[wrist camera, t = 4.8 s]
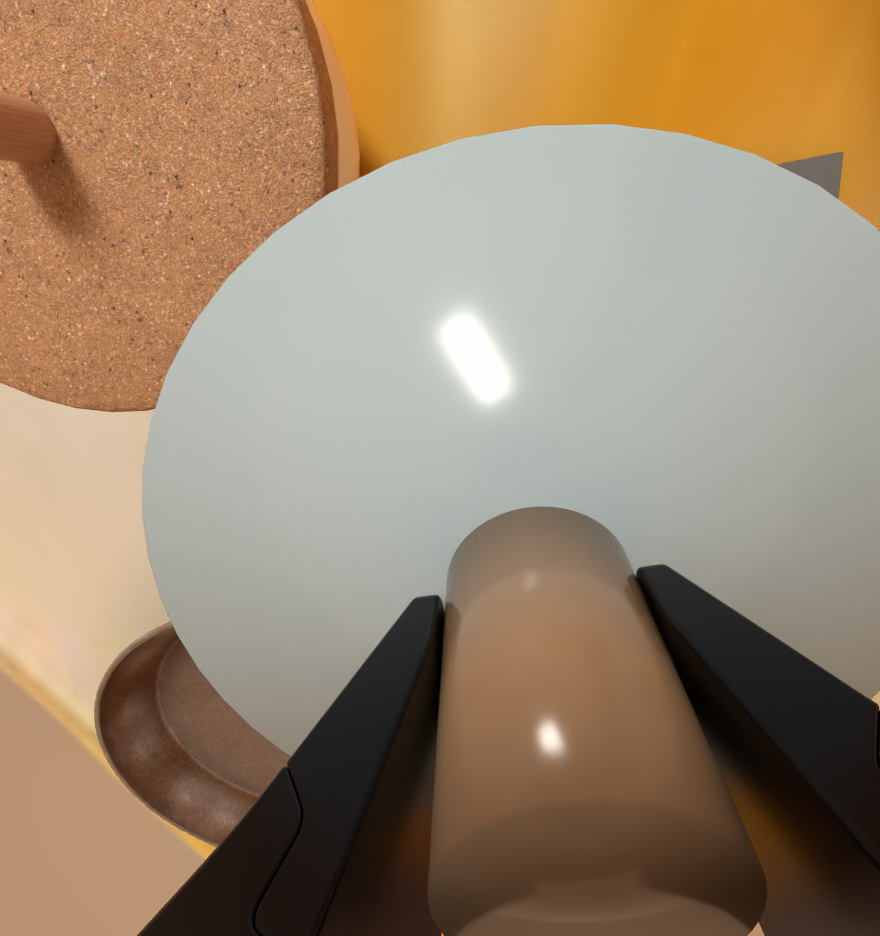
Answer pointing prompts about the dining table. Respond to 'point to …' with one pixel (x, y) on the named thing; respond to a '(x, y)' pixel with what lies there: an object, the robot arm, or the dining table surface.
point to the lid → (536, 491)
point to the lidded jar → (149, 175)
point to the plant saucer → (180, 739)
